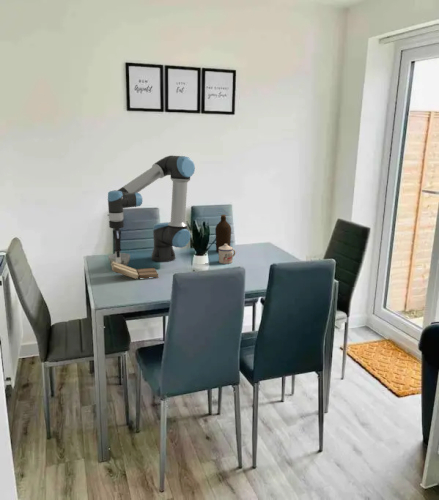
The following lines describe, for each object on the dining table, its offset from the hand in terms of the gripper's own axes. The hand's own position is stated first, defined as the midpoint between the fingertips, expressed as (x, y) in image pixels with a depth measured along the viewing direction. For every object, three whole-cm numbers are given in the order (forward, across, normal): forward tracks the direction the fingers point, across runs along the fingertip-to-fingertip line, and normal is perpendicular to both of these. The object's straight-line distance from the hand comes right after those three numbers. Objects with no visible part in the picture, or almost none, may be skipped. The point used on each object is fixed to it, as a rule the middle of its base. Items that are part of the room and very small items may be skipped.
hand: (118, 262), depth 243 cm
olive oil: (+9, -37, +73) cm, 82 cm away
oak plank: (+6, 0, +3) cm, 6 cm away
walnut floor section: (+9, 0, +16) cm, 18 cm away
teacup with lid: (+9, -13, +68) cm, 70 cm away
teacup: (+9, -19, +2) cm, 21 cm away
